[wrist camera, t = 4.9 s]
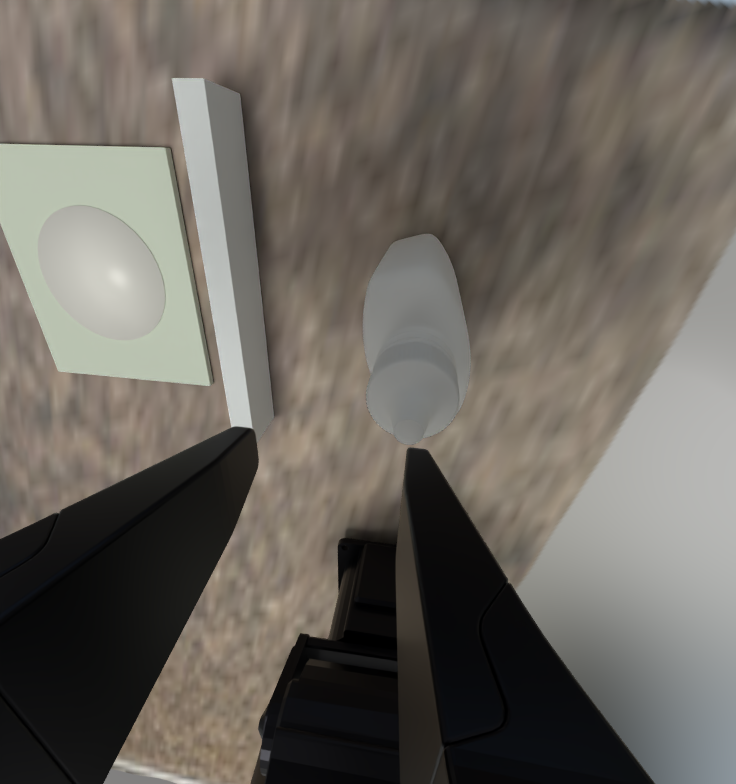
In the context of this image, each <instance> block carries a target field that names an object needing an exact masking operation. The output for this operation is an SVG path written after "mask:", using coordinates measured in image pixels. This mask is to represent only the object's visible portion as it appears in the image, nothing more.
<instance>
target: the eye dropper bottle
mask: <svg viewBox="0 0 736 784" xmlns="http://www.w3.org/2000/svg"><path fill="white" fill-rule="evenodd" d="M363 342H364V349H365V355H366V360H367V364H368V367H369V370H370V373H371V376H370V379H369V383H368V386H367V390H366V392H367V393H366V401H367V403H366V404H367V405H368V407H367V408H368V409H369V413H370V414H371V416H372V417H373V420H375V421H376V423H377V424H379V426H380V427H382V429H384V430H386V431H387V432H389V433H390V434H393V435H394V436H395V438H396V439H397V440H398V441H399V442H401V443H403V444H406V445H413V444H416V443H418V442H420V441H421V440H422V438H427V437H431V436H432V435H435V434H437V433H439V432H440V431H443V429H445V428H446V426H448V425H450V423H451V422H452V419H454V418H455V415H456V414H457V413H458V412H459V410H460V408H461V406H462V404H463V401H464V398H465V395H466V392H467V388H468V383H469V377H470V367H471V352H470V342H469V336H468V330H467V325H466V320H465V315H464V311H463V306H462V301H461V297H460V292H459V288H458V283H457V279H456V275H455V272H454V269H453V266H452V263H451V261H450V259H449V256H448V254H447V253H446V251H445V249H444V247H443V246H442V244H441V242H440V241H439V240H438V238H437V237H435V236H434V235H432V234H421V235H416V236H412V237H408V238H404V239H401V240H397V241H395V242H394V243H392V244H391V245H390V247H389V248H388V250H387V252H386V253H385V255H384V256H383V258H382V260H381V261H380V263H379V265H378V266H377V268H376V270H375V271H374V273H373V275H372V277H371V279H370V281H369V284H368V288H367V292H366V297H365V303H364V311H363Z"/></svg>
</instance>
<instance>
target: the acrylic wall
mask: <svg viewBox="0 0 736 784" xmlns="http://www.w3.org/2000/svg"><path fill="white" fill-rule="evenodd" d="M172 82H173V88H174V93H175V99H176V105H177V111H178V117H179V123H180V129H181V134H182V140H183V146H184V152H185V158H186V164H187V170H188V176H189V181H190V187H191V193H192V199H193V205H194V211H195V217H196V223H197V228H198V234H199V240H200V246H201V252H202V258H203V264H204V270H205V275H206V281H207V287H208V293H209V299H210V305H211V311H212V317H213V322H214V328H215V334H216V340H217V346H218V352H219V358H220V364H221V369H222V375H223V381H224V387H225V393H226V399H227V405H228V411H229V416H230V422H231V428H232V427H234V426H239V427H247V428H252V429H253V430H254V431H255V434H256V441H257V442H258V441H259V439H260V438H261V436H262V435H263V433H264V432H265V430H266V429H267V427H268V426H269V424H270V423H271V421H272V420H273V418H274V410H273V400H272V391H271V381H270V372H269V362H268V353H267V343H266V334H265V324H264V315H263V305H262V296H261V286H260V277H259V267H258V258H257V248H256V239H255V229H254V220H253V211H252V201H251V192H250V182H249V173H248V163H247V154H246V144H245V135H244V125H243V116H242V106H241V97H240V93H237V92H235V91H233V90H230V89H228V88H225V87H223V86H221V85H218V84H216V83H214V82H211V81H209V80H207V79H204V78H172Z"/></svg>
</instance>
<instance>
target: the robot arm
mask: <svg viewBox="0 0 736 784" xmlns="http://www.w3.org/2000/svg"><path fill="white" fill-rule="evenodd" d="M258 463H259V458H258V450H257V441H256V434H255V431H254V430H253V429H252V428H247V427H239V426H234V427H232V428H229V429H227V430H225V431H223V432H221V433H219V434H217V435H215V436H213V437H211V438H209V439H207V440H205V441H203V442H201V443H199V444H196V445H194V446H192V447H190V448H188V449H186V450H184V451H182V452H180V453H178V454H176V455H174V456H172V457H170V458H168V459H166V460H164V461H161V462H159V463H157V464H155V465H153V466H151V467H149V468H147V469H145V470H143V471H141V472H139V473H137V474H135V475H133V476H131V477H128V478H126V479H124V480H122V481H120V482H118V483H116V484H114V485H112V486H110V487H108V488H106V489H104V490H102V491H100V492H98V493H95V494H93V495H91V496H89V497H87V498H85V499H83V500H81V501H79V502H77V503H75V504H73V505H71V506H69V507H67V508H65V509H62V510H61V511H60V513H54V514H52V515H50V516H48V517H46V518H44V519H42V520H40V521H38V522H36V523H34V524H32V525H29V526H27V527H25V528H23V529H21V530H19V531H17V532H14V533H12V534H10V535H8V536H6V537H4V538H2V539H0V784H103V783H104V781H105V779H106V777H107V775H108V773H109V771H110V769H111V767H112V765H113V763H114V762H115V760H116V758H117V756H118V754H119V752H120V750H121V748H122V746H123V744H124V742H125V740H126V738H127V736H128V735H129V733H130V731H131V729H132V727H133V725H134V723H135V721H136V719H137V717H138V715H139V713H140V711H141V709H142V708H143V706H144V704H145V702H146V700H147V698H148V696H149V694H150V692H151V690H152V688H153V686H154V684H155V682H156V681H157V679H158V677H159V675H160V673H161V671H162V669H163V667H164V665H165V663H166V661H167V659H168V657H169V655H170V654H171V652H172V650H173V648H174V646H175V644H176V642H177V640H178V638H179V636H180V634H181V632H182V630H183V628H184V627H185V625H186V623H187V621H188V619H189V617H190V615H191V613H192V611H193V609H194V607H195V605H196V603H197V601H198V600H199V598H200V596H201V594H202V592H203V590H204V588H205V586H206V584H207V582H208V580H209V578H210V576H211V574H212V573H213V571H214V569H215V567H216V565H217V563H218V561H219V559H220V557H221V555H222V553H223V551H224V549H225V547H226V546H227V544H228V542H229V539H230V537H231V535H232V533H233V531H234V529H235V526H236V524H237V521H238V519H239V516H240V513H241V511H242V508H243V506H244V503H245V500H246V498H247V495H248V493H249V490H250V487H251V485H252V482H253V480H254V477H255V474H256V472H257V469H258ZM345 545H346V546H345ZM338 588H339V595H338V599H337V603H336V608H335V612H334V616H333V621H332V625H331V629H330V634H329V638H328V639H324V638H317V637H310V636H309V634H302V633H300V635H299V637H298V640H297V642H296V645H295V646H293V648H292V650H291V652H290V655H289V657H288V659H287V662H286V664H285V667H284V669H283V671H282V674H281V676H280V678H279V681H278V683H277V686H276V688H275V690H274V693H273V695H272V698H271V700H270V702H269V704H268V706H267V708H266V709H265V711H264V713H263V715H262V716H261V719H260V722H259V727H258V730H259V733H260V735H261V738H262V746H261V755H260V771H261V774H262V775H263V776H266V777H265V782H264V784H655V783H654V781H653V780H652V779H651V778H650V776H649V775H648V774H647V772H646V771H645V770H644V769H643V767H642V766H641V764H640V763H639V762H638V760H637V759H636V758H635V756H634V755H633V754H632V753H631V751H630V750H629V749H628V747H627V746H626V745H625V743H624V742H623V741H622V739H621V738H620V737H619V735H618V734H617V733H616V731H615V730H614V729H613V727H612V726H611V725H610V724H609V722H608V721H607V720H606V718H605V717H604V716H603V714H602V713H601V712H600V710H599V709H598V708H597V706H596V705H595V704H594V703H593V701H592V700H591V699H590V697H589V696H588V695H587V694H586V692H585V691H584V690H583V688H582V687H581V685H580V684H579V683H578V682H577V680H576V679H575V677H574V676H573V675H572V673H571V672H570V671H569V669H568V668H567V667H566V665H565V664H564V662H563V661H562V660H561V658H560V657H559V656H558V655H557V653H556V651H555V650H554V649H553V648H552V646H551V645H550V643H549V642H548V640H547V639H546V638H545V636H544V635H543V634H542V632H541V630H540V629H539V627H538V626H537V624H536V623H535V621H534V620H533V618H532V617H531V615H530V614H529V612H528V610H527V609H526V607H525V606H524V604H523V603H522V601H521V599H520V598H519V596H518V595H517V593H516V591H515V590H514V588H513V586H512V585H511V584H510V583H508V579H507V577H506V575H505V574H504V572H503V571H502V569H501V567H500V566H499V564H498V562H497V561H496V559H495V558H494V556H493V554H492V553H491V551H490V550H489V548H488V546H487V545H486V543H485V542H484V540H483V538H482V537H481V535H480V533H479V532H478V530H477V529H476V527H475V525H474V524H473V522H472V521H471V519H470V517H469V516H468V514H467V512H466V511H465V509H464V508H463V506H462V504H461V503H460V501H459V500H458V498H457V496H456V495H455V493H454V491H453V490H452V488H451V487H450V485H449V483H448V482H447V480H446V479H445V477H444V475H443V474H442V472H441V471H440V469H439V467H438V466H437V464H436V462H435V461H434V459H433V458H432V456H431V454H430V453H429V451H428V450H426V449H419V448H408V449H407V453H406V462H405V471H404V480H403V489H402V499H401V508H400V518H399V527H398V537H397V545H392V544H384V543H377V542H370V541H363V540H355V539H348V538H343V539H341V540H340V541H339V544H338Z"/></svg>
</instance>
